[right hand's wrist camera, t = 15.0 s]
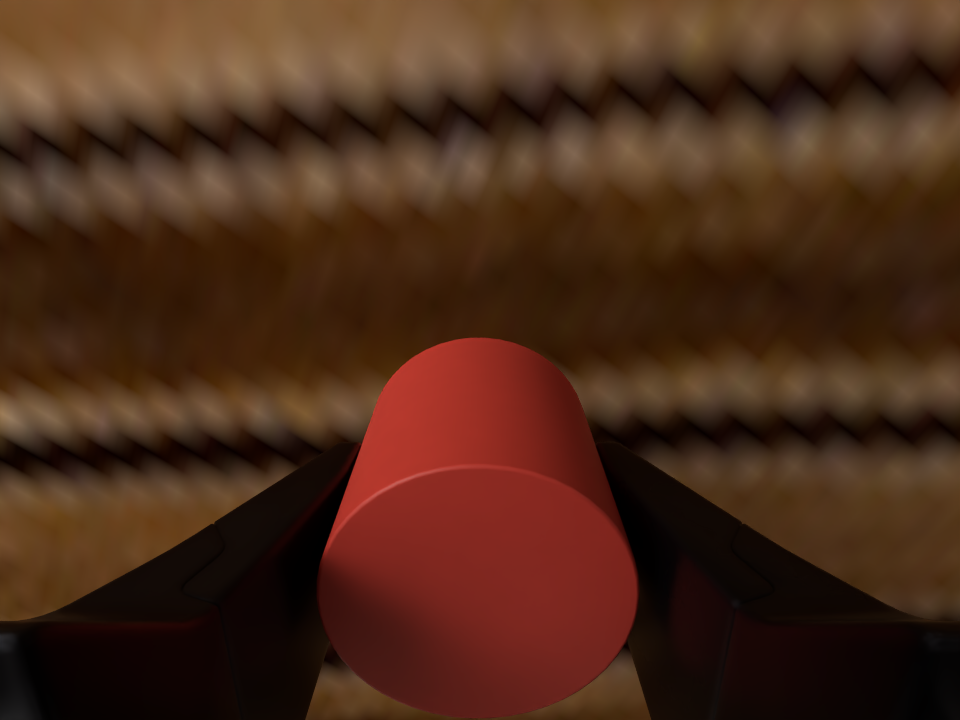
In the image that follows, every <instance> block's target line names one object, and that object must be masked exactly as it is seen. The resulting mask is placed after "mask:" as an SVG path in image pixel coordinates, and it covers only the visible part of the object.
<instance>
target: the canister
mask: <svg viewBox="0 0 960 720" xmlns="http://www.w3.org/2000/svg"><path fill="white" fill-rule="evenodd" d="M639 594H640V588H639V574H638V570H637V566H636V562H635V558H634V555H633V552H632V549H631V546H630V544H629V541H628V538H627V535H626V532H625V529H624V526H623V523H622V520H621V518H620V515H619V512H618V509H617V506H616V503H615V500H614V497H613V495H612V492H611V489H610V486H609V483H608V480H607V477H606V474H605V472H604V469H603V466H602V463H601V460H600V457H599V454H598V451H597V448H596V446H595V443H594V440H593V437H592V434H591V431H590V428H589V425H588V423H587V420H586V417H585V414H584V411H583V408H582V405H581V403H580V401H579V398H578V396H577V394H576V392H575V390H574V389H573V387H572V385H571V384H570V382H569V381H568V380H567V378H566V377H565V376H564V375H563V373H562V372H561V371H560V370H559V369H558V368H556V367H555V366H554V365H553V364H552V363H551V362H550V361H548V360H547V359H545V358H544V357H543V356H541V355H540V354H538V353H536V352H534V351H532V350H530V349H528V348H526V347H523V346H521V345H518V344H515V343H512V342H508V341H504V340H499V339H490V338H466V339H459V340H453V341H449V342H446V343H442V344H439V345H436V346H434V347H432V348H429V349H427V350H425V351H423V352H421V353H420V354H418V355H416V356H414V357H413V358H412V359H410V360H409V361H408V362H406V363H405V364H404V365H403V366H402V367H401V368H400V369H399V370H398V371H397V372H396V373H395V374H394V375H393V376H392V377H391V379H390V380H389V381H388V383H387V384H386V385H385V387H384V389H383V391H382V393H381V394H380V396H379V398H378V401H377V404H376V407H375V409H374V412H373V415H372V418H371V421H370V423H369V426H368V429H367V432H366V435H365V437H364V440H363V443H362V446H361V449H360V452H359V454H358V457H357V460H356V463H355V466H354V468H353V471H352V474H351V477H350V480H349V482H348V485H347V488H346V491H345V494H344V496H343V499H342V502H341V505H340V508H339V510H338V513H337V516H336V519H335V522H334V524H333V527H332V530H331V533H330V536H329V539H328V541H327V544H326V547H325V550H324V553H323V555H322V558H321V561H320V565H319V570H318V575H317V591H316V597H317V603H318V610H319V615H320V618H321V621H322V625H323V628H324V631H325V633H326V635H327V637H328V639H329V641H330V643H331V645H332V646H333V648H334V649H335V651H336V652H337V653H338V655H339V656H340V658H341V659H342V660H343V661H344V663H345V664H346V665H347V666H348V667H349V668H350V669H351V670H352V671H353V672H354V673H355V674H356V675H357V676H359V677H360V678H361V679H362V680H363V681H364V682H366V683H367V684H368V685H370V686H371V687H373V688H374V689H376V690H377V691H379V692H380V693H382V694H384V695H386V696H388V697H390V698H392V699H394V700H396V701H398V702H400V703H403V704H405V705H408V706H410V707H413V708H416V709H419V710H423V711H426V712H430V713H434V714H439V715H445V716H451V717H462V718H495V717H505V716H512V715H517V714H522V713H527V712H530V711H534V710H537V709H540V708H543V707H546V706H549V705H551V704H553V703H556V702H558V701H561V700H563V699H565V698H567V697H568V696H570V695H572V694H574V693H576V692H577V691H579V690H581V689H582V688H583V687H585V686H586V685H588V684H589V683H590V682H592V681H593V680H594V679H595V678H597V677H598V676H599V675H600V674H601V673H602V672H603V671H604V670H605V669H606V668H607V667H608V666H609V665H610V664H611V663H612V661H613V660H614V659H615V658H616V657H617V656H618V654H619V652H620V651H621V649H622V648H623V646H624V645H625V643H626V641H627V639H628V637H629V635H630V632H631V630H632V628H633V625H634V622H635V618H636V614H637V610H638V604H639Z"/></svg>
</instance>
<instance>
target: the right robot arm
mask: <svg viewBox="0 0 960 720" xmlns="http://www.w3.org/2000/svg"><path fill="white" fill-rule="evenodd" d="M361 446H362V445H361V443H359V442H340V443H338V444H336V445H335V446H333V447H331V448H330V449H328V450H327V451H325V452H324V453H322V454H321V455H319V456H317V457H316V458H314V459H313V460H311V461H310V462H308V463H306V464H305V465H303V466H302V467H300V468H299V469H297V470H295V471H294V472H292V473H291V474H289V475H288V476H286V477H284V478H283V479H281V480H280V481H278V482H277V483H275V484H273V485H272V486H270V487H269V488H267V489H266V490H264V491H262V492H261V493H259V494H258V495H256V496H255V497H253V498H251V499H250V500H248V501H247V502H245V503H244V504H242V505H240V506H239V507H237V508H236V509H234V510H233V511H231V512H229V513H228V514H226V515H225V516H223V517H222V518H220V519H218V520H217V521H215V523H214V524H210V525H209V526H207V527H206V528H204V529H203V530H201V531H200V532H198V533H196V534H195V535H193V536H192V537H190V538H188V539H187V540H185V541H183V542H182V543H180V544H178V545H177V546H175V547H173V548H172V549H170V550H168V551H167V552H165V553H163V554H161V555H159V556H158V557H156V558H154V559H152V560H150V561H148V562H147V563H145V564H143V565H141V566H139V567H138V568H136V569H134V570H132V571H130V572H128V573H126V574H125V575H123V576H121V577H119V578H117V579H115V580H113V581H111V582H110V583H108V584H106V585H104V586H102V587H100V588H98V589H97V590H95V591H93V592H91V593H89V594H87V595H85V596H84V597H82V598H80V599H78V600H76V601H74V602H72V603H70V604H69V605H67V606H64V607H62V608H60V609H58V610H56V611H53V612H51V613H48V614H45V615H43V616H39V617H35V618H31V619H27V620H20V621H0V720H305V718H306V715H307V712H308V709H309V705H310V702H311V699H312V696H313V693H314V689H315V686H316V683H317V680H318V676H319V673H320V670H321V667H322V663H323V660H324V657H325V654H326V650H327V647H328V644H329V639H328V637H327V635H326V633H325V631H324V628H323V625H322V621H321V618H320V615H319V610H318V603H317V597H316V591H317V575H318V570H319V565H320V561H321V558H322V555H323V553H324V550H325V547H326V544H327V541H328V539H329V536H330V533H331V530H332V527H333V524H334V522H335V519H336V516H337V513H338V510H339V508H340V505H341V502H342V499H343V496H344V494H345V491H346V488H347V485H348V482H349V480H350V477H351V474H352V471H353V468H354V466H355V463H356V460H357V457H358V454H359V452H360V449H361ZM595 446H596V448H597V451H598V454H599V457H600V460H601V463H602V466H603V469H604V472H605V474H606V477H607V480H608V483H609V486H610V489H611V492H612V495H613V497H614V500H615V503H616V506H617V509H618V512H619V515H620V518H621V520H622V523H623V526H624V529H625V532H626V535H627V538H628V541H629V544H630V546H631V549H632V552H633V555H634V558H635V562H636V566H637V570H638V574H639V588H640V594H639V604H638V610H637V614H636V618H635V622H634V625H633V628H632V630H631V632H630V635H629V637H628V639H627V641H628V645H629V648H630V651H631V654H632V658H633V661H634V664H635V667H636V671H637V674H638V677H639V681H640V684H641V687H642V690H643V694H644V697H645V700H646V703H647V707H648V710H649V713H650V717H651V720H960V621H935V620H928V619H924V618H920V617H916V616H912V615H910V614H907V613H904V612H902V611H899V610H897V609H895V608H893V607H891V606H889V605H887V604H885V603H883V602H881V601H879V600H877V599H875V598H874V597H872V596H870V595H868V594H866V593H864V592H863V591H861V590H859V589H857V588H855V587H853V586H851V585H850V584H848V583H846V582H844V581H842V580H840V579H838V578H837V577H835V576H833V575H831V574H829V573H827V572H826V571H824V570H822V569H820V568H818V567H816V566H814V565H813V564H811V563H809V562H807V561H805V560H804V559H802V558H800V557H798V556H797V555H795V554H793V553H791V552H789V551H788V550H786V549H784V548H783V547H781V546H779V545H778V544H776V543H774V542H773V541H771V540H769V539H768V538H766V537H765V536H763V535H761V534H760V533H758V532H757V531H755V530H754V529H752V528H750V527H749V526H747V525H746V524H742V522H741V521H739V520H738V519H736V518H735V517H733V516H732V515H730V514H728V513H727V512H725V511H724V510H722V509H721V508H719V507H718V506H716V505H714V504H713V503H711V502H710V501H708V500H707V499H705V498H704V497H702V496H700V495H699V494H697V493H696V492H694V491H693V490H691V489H690V488H688V487H686V486H685V485H683V484H682V483H680V482H679V481H677V480H676V479H674V478H672V477H671V476H669V475H668V474H666V473H665V472H663V471H662V470H660V469H658V468H657V467H655V466H654V465H652V464H651V463H649V462H648V461H646V460H644V459H643V458H641V457H640V456H638V455H637V454H635V453H634V452H632V451H630V450H629V449H627V448H626V447H624V446H623V445H621V444H619V443H617V442H599V443H597V444H596V445H595Z"/></svg>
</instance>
